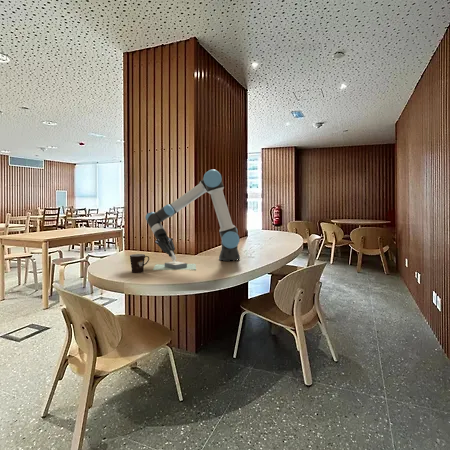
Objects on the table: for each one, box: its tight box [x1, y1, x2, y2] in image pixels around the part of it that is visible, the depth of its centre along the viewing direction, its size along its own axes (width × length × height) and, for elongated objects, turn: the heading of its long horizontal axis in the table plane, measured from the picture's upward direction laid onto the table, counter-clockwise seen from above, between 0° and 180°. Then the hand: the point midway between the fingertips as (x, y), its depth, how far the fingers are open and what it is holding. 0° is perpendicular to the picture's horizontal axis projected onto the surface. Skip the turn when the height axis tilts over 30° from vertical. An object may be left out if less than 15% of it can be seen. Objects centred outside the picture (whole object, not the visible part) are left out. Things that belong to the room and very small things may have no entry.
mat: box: [152, 263, 197, 271], centre depth 197 cm, size 26×18×1 cm
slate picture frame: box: [164, 260, 188, 269], centre depth 195 cm, size 3×9×11 cm
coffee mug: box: [129, 253, 150, 274], centre depth 184 cm, size 12×9×10 cm
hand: (174, 259), depth 196 cm, fingers closed
